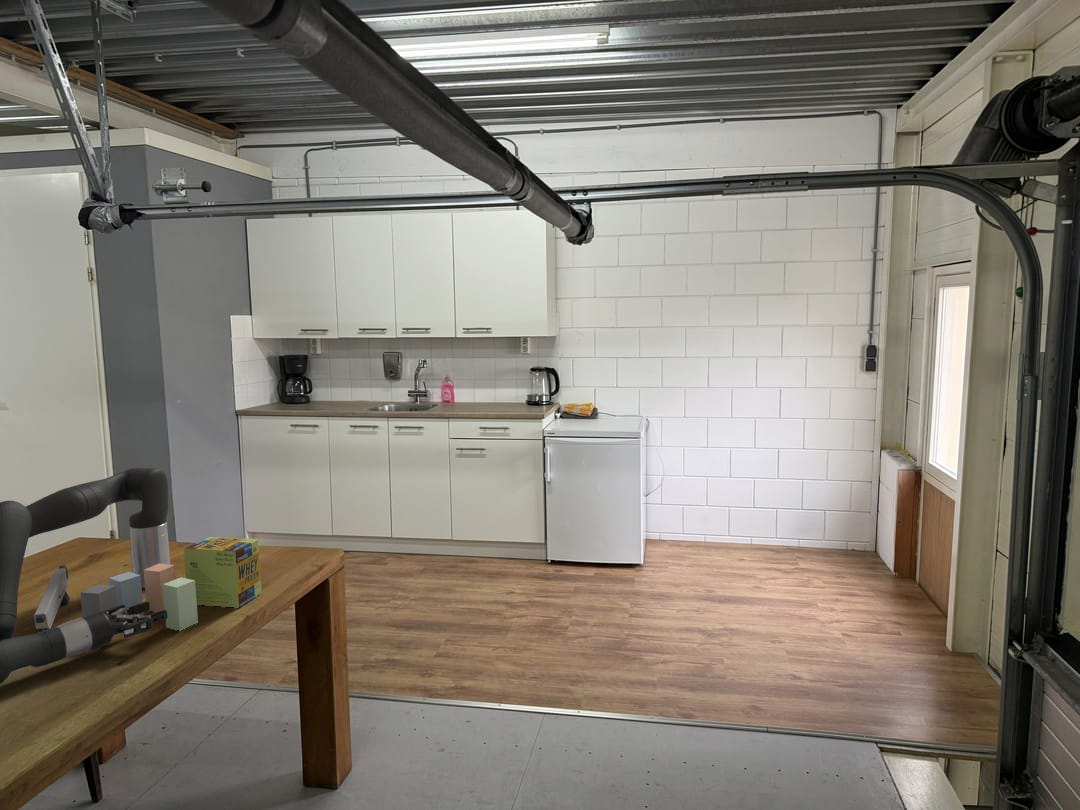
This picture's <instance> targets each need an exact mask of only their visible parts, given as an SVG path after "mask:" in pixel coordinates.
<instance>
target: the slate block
mask: <svg viewBox="0 0 1080 810" xmlns="http://www.w3.org/2000/svg"><path fill="white" fill-rule="evenodd" d="M108 581H109V582H108V583H109V584H108V585H111V586H115V589H116V600H117V606H120V605H125V607H126V606H131V607H132V606H134V605H137V604H140V603H143V591H142V589H143V588H141V577H140V575H138V574H135V573H132V571H127V572H123V573H121V574H117V575H115V576H114V575H113V576H111V577H108ZM117 611H118V610H117ZM132 615H133V614H132ZM139 615H140V616H145V612H143V613H140V614H139Z"/></svg>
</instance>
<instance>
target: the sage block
mask: <svg viewBox="0 0 1080 810" xmlns="http://www.w3.org/2000/svg"><path fill="white" fill-rule="evenodd" d="M163 594H164V606H165V610H166V611H167V619H166V620H165V627H166V629H169V628H170V630H173V629H174V631H177V630H179V631H178V632H182V631H184V630H186V629H185V628H187V627H189V626H191V625H193V624H195V625H197V624H196V623H198V624H199V617H198V616H199V615H198V605H197V602H196V588H195V580H191V579H186V577H178V578H176V579H175V580H173V581H170V582H167V583H165V584H163ZM193 626H194V625H193ZM191 627H192V626H191ZM189 628H190V627H189ZM183 629H184V630H183ZM187 629H188V628H187ZM181 630H182V631H181Z"/></svg>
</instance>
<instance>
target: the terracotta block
mask: <svg viewBox="0 0 1080 810" xmlns="http://www.w3.org/2000/svg"><path fill="white" fill-rule="evenodd" d="M175 579H177V577H176V565H175V564H170V565H169V564H160V563H159V564H157V565H154V566H152V567H150V568H147V569H145V570H144V580H145V588H144V589H145V590H144V591H145V600H146V601H147V602H149V605H150V610H149V611H148V612H150V611H153V612H152V613H156V612H158V611H161V610H165V606H164V594H163V584H165V583H167V582H170V581H173V580H175ZM146 601H145V602H146Z"/></svg>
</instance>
